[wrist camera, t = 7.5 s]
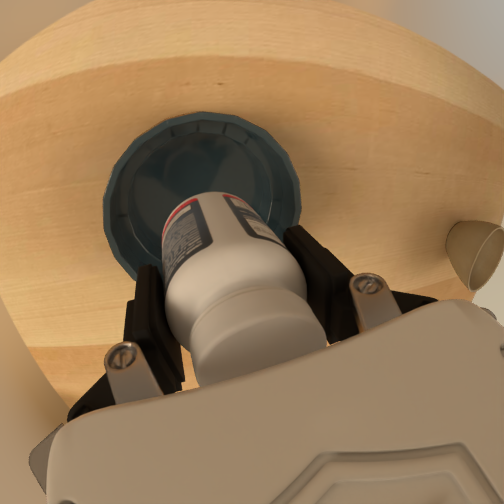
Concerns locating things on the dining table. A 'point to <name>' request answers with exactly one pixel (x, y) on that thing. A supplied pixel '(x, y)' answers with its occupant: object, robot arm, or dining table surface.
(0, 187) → the dining table surface
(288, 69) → the dining table surface
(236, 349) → the pill bottle
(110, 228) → the bowl
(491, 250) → the flower pot
